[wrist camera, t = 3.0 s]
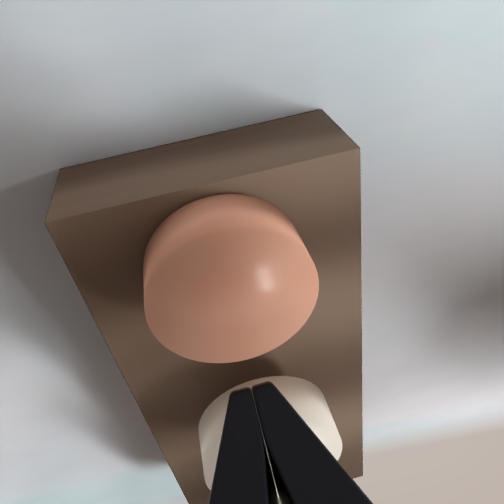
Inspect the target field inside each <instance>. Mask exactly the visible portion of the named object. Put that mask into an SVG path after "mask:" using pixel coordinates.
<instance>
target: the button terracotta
mask: <svg viewBox="0 0 504 504" xmlns="http://www.w3.org/2000/svg"><path fill="white" fill-rule="evenodd" d="M143 283H144V311H145V317H146V321H147V324H148V326H149V328H150V330H151V332H152V334H153V335H154V336H155V337H156V339H157V340H158V341H159V342H160V343H161V344H162V345H163V346H165V347H166V348H167V349H169V350H170V351H172V352H174V353H176V354H177V355H179V356H182V357H185V358H187V359H191V360H194V361H199V362H206V363H231V362H238V361H243V360H247V359H251V358H254V357H257V356H260V355H262V354H265V353H267V352H269V351H271V350H273V349H275V348H277V347H278V346H280V345H281V344H283V343H285V342H286V341H287V340H288V339H290V338H291V337H292V336H293V335H294V334H296V333H297V332H298V331H299V330H300V329H301V327H302V326H303V325H304V324H305V323H306V321H307V320H308V318H309V317H310V315H311V313H312V311H313V309H314V307H315V304H316V301H317V298H318V292H319V278H318V272H317V270H316V267H315V264H314V262H313V260H312V258H311V257H310V255H309V253H308V251H307V249H306V247H305V245H304V243H303V241H302V239H301V238H300V236H299V234H298V232H297V230H296V228H295V226H294V225H293V223H292V221H291V220H290V219H289V218H288V216H287V215H286V214H285V213H283V212H282V211H281V210H280V209H279V208H277V207H276V206H274V205H273V204H271V203H269V202H267V201H265V200H262V199H259V198H256V197H253V196H247V195H241V194H222V195H215V196H209V197H205V198H202V199H199V200H196V201H194V202H191V203H189V204H187V205H185V206H183V207H181V208H180V209H178V210H176V211H175V212H174V213H172V214H171V215H170V216H168V217H167V218H166V219H165V220H164V221H163V222H162V223H161V224H160V225H159V227H158V228H157V229H156V230H155V232H154V233H153V235H152V237H151V238H150V240H149V242H148V245H147V247H146V250H145V254H144V259H143Z"/></svg>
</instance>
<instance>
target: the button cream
mask: <svg viewBox="0 0 504 504" xmlns="http://www.w3.org/2000/svg"><path fill="white" fill-rule="evenodd" d="M267 381H270V382H272V383H273V384H274V385H275V386H276V387H277V389H278V390H279V391H280V392H281V393H282V395H283V396H284V397H285V398H286V399H287V401H288V402H289V403H290V404H291V405H292V407H293V408H294V409H295V410H296V412H297V413H298V414H299V415H300V416H301V418H302V419H303V420H304V421H305V422H306V424H307V425H308V426H309V427H310V428H311V430H312V431H313V432H314V433H315V434H316V436H317V437H318V438H319V439H320V440H321V442H322V443H323V444H324V445H325V446H326V448H327V449H328V450H329V451H330V452H331V454H332V455H333V456H334V457H335V459H336V460H337V461H338V460H339V457H340V455H341V452H342V440H341V437H340V435H339V432H338V430H337V427H336V425H335V422H334V420H333V417H332V415H331V412H330V410H329V407H328V405H327V402H326V400H325V397H324V395H323V393H322V392H321V390H320V389H319V388H318V387H317V386H316V385H314V384H313V383H311V382H309V381H307V380H304V379H301V378H297V377H291V376H270V377H263V378H259V379H254V380H251V381H248V382H245V383H242V384H240V385H237V386H235V387H233V388H231V389H229V390H228V391H226V392H225V393H223V394H221V395H220V396H219V397H218V398H216V399H215V400H214V401H213V402H212V403H211V404H210V405H209V406H208V407H207V408H206V410H205V411H204V413H203V415H202V416H201V419H200V421H199V427H198V430H199V439H200V447H201V455H202V463H203V471H204V479H205V482H206V485H207V487H208V488H209V489H210V490H211V487H212V482H213V477H214V472H215V467H216V461H217V456H218V451H219V446H220V441H221V436H222V431H223V425H224V420H225V415H226V410H227V405H228V400H229V395H230V393H231V392H232V391H234V390H237V389H241V388H245V387H250V388H252V386H253V385H256V384H259V383H263V382H267ZM251 391H252V389H251ZM252 395H253V394H252ZM253 399H254V398H253ZM258 418H259V417H258ZM259 422H260V421H259ZM260 426H261V425H260ZM261 430H262V429H261ZM262 434H263V433H262ZM263 438H264V437H263ZM264 442H265V441H264ZM265 446H266V445H265ZM266 450H267V449H266ZM267 454H268V453H267ZM268 458H269V457H268ZM269 462H270V461H269ZM270 466H271V465H270ZM271 470H272V469H271ZM272 474H273V473H272ZM273 478H274V477H273ZM274 482H275V481H274ZM275 486H276V485H275ZM276 491H277V488H276ZM277 496H278V498H279V495H278V492H277Z"/></svg>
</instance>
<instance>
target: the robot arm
mask: <svg viewBox="0 0 504 504" xmlns="http://www.w3.org/2000/svg"><path fill="white" fill-rule="evenodd" d="M251 389H252V391H251ZM252 394H253V395H252ZM253 398H254V399H253ZM258 417H259V418H258ZM259 421H260V422H259ZM260 425H261V426H260ZM261 429H262V430H261ZM262 433H263V434H262ZM263 437H264V438H263ZM264 441H265V442H264ZM265 445H266V446H265ZM266 449H267V450H266ZM267 453H268V454H267ZM268 457H269V458H268ZM269 461H270V462H269ZM270 465H271V466H270ZM271 469H272V470H271ZM272 473H273V474H272ZM273 477H274V478H273ZM274 481H275V482H274ZM275 485H276V486H275ZM276 488H277V491H276ZM277 492H278V495H279V498H280V501H281V504H373V503H372V502H371V501H370V500H369V498H368V497H367V496H366V495H365V493H363V491H362V490H361V489H360V487H359V486H358V485H357V484H356V483H355V481H354V480H353V479H352V478H351V477H350V475H349V474H348V473H347V472H346V471H345V469H344V468H343V467H342V466H341V465H340V463H339V462H338V461H337V460H336V459H335V457H334V456H333V455H332V454H331V452H330V451H329V450H328V449H327V448H326V446H325V445H324V444H323V443H322V442H321V440H320V439H319V438H318V437H317V436H316V434H315V433H314V432H313V431H312V430H311V428H310V427H309V426H308V425H307V424H306V422H305V421H304V420H303V419H302V418H301V416H300V415H299V414H298V413H297V412H296V410H295V409H294V408H293V407H292V405H291V404H290V403H289V402H288V401H287V399H286V398H285V397H284V396H283V395H282V393H281V392H280V391H279V390H278V389H277V387H276V386H275V385H274V384H273V383H272V382H270V381H267V382H263V383H259V384H256V385H253V386H252V388H250V387H245V388H241V389H237V390H234V391H232V392H231V393H230V395H229V400H228V405H227V410H226V415H225V420H224V425H223V431H222V436H221V441H220V446H219V451H218V456H217V461H216V467H215V472H214V477H213V482H212V487H211V492H210V497H209V503H208V504H279V502H278V496H277Z"/></svg>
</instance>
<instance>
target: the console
mask: <svg viewBox="0 0 504 504" xmlns="http://www.w3.org/2000/svg"><path fill="white" fill-rule="evenodd" d="M222 194H241V195H247V196H253V197H256V198H259V199H262V200H265V201H267V202H269V203H271V204H273V205H274V206H276V207H277V208H279V209H280V210H281V211H282V212H283V213H285V214H286V215H287V216H288V218H289V219H290V220H291V221H292V223H293V225H294V226H295V228H296V230H297V232H298V234H299V236H300V238H301V239H302V241H303V243H304V245H305V247H306V249H307V251H308V253H309V255H310V257H311V258H312V260H313V262H314V264H315V267H316V270H317V272H318V278H319V292H318V298H317V301H316V304H315V307H314V309H313V311H312V313H311V315H310V317H309V318H308V320H307V321H306V323H305V324H304V325H303V326H302V327H301V329H300V330H299V331H298V332H297V333H296V334H294V335H293V336H292V337H291V338H290V339H288V340H287V341H286V342H285V343H283V344H281V345H280V346H278V347H277V348H275V349H273V350H271V351H269V352H267V353H265V354H262V355H260V356H257V357H254V358H251V359H247V360H243V361H238V362H231V363H206V362H199V361H194V360H191V359H187V358H185V357H182V356H179V355H177V354H176V353H174V352H172V351H170V350H169V349H167V348H166V347H165V346H163V345H162V344H161V343H160V342H159V341H158V340H157V339H156V337H155V336H154V335H153V334H152V332H151V330H150V328H149V326H148V324H147V321H146V317H145V311H144V283H143V259H144V254H145V250H146V247H147V245H148V242H149V240H150V238H151V237H152V235H153V233H154V232H155V230H156V229H157V228H158V227H159V225H160V224H161V223H162V222H163V221H164V220H165V219H166V218H167V217H168V216H170V215H171V214H172V213H174V212H175V211H176V210H178V209H180V208H181V207H183V206H185V205H187V204H189V203H191V202H194V201H196V200H199V199H202V198H205V197H209V196H215V195H222ZM45 225H46V227H47V229H48V231H49V233H50V234H51V236H52V238H53V240H54V242H55V244H56V246H57V248H58V250H59V252H60V254H61V256H62V258H63V260H64V262H65V264H66V266H67V268H68V269H69V271H70V273H71V275H72V277H73V279H74V281H75V283H76V285H77V287H78V289H79V291H80V293H81V295H82V297H83V299H84V301H85V303H86V305H87V306H88V308H89V310H90V312H91V314H92V316H93V318H94V320H95V322H96V324H97V326H98V328H99V330H100V332H101V334H102V336H103V338H104V340H105V342H106V343H107V345H108V347H109V349H110V351H111V353H112V355H113V357H114V359H115V361H116V363H117V365H118V367H119V369H120V371H121V373H122V375H123V377H124V379H125V380H126V382H127V384H128V386H129V388H130V390H131V392H132V394H133V396H134V398H135V400H136V402H137V404H138V406H139V408H140V410H141V412H142V414H143V416H144V417H145V419H146V421H147V423H148V425H149V427H150V429H151V431H152V433H153V435H154V437H155V439H156V441H157V443H158V445H159V447H160V449H161V451H162V452H163V454H164V456H165V458H166V460H167V462H168V464H169V466H170V468H171V470H172V472H173V474H174V476H175V478H176V480H177V482H178V484H179V486H180V488H181V489H182V491H183V493H184V495H185V497H186V499H187V501H188V503H189V504H208V503H209V497H210V492H211V490H210V489H209V488H208V487H207V485H206V482H205V479H204V471H203V463H202V455H201V447H200V439H199V430H198V427H199V421H200V419H201V416H202V415H203V413H204V411H205V410H206V408H207V407H208V406H209V405H210V404H211V403H212V402H213V401H214V400H215V399H216V398H218V397H219V396H220V395H221V394H223V393H225V392H226V391H228V390H229V389H231V388H233V387H235V386H237V385H240V384H242V383H245V382H248V381H251V380H254V379H259V378H263V377H270V376H291V377H297V378H301V379H304V380H307V381H309V382H311V383H313V384H314V385H316V386H317V387H318V388H319V389H320V390H321V392H322V393H323V395H324V397H325V400H326V402H327V405H328V407H329V410H330V412H331V415H332V417H333V420H334V422H335V425H336V427H337V430H338V432H339V435H340V437H341V440H342V452H341V455H340V457H339V460H338V462H339V463H340V465H341V466H342V467H343V468H344V469H345V471H346V472H347V473H348V474H349V475H350V477H351V478H352V479H353V478H356V477H360V476H363V462H362V461H363V450H362V323H361V197H360V147H359V146H358V145H357V144H356V143H355V142H354V141H353V140H352V139H351V138H350V137H349V136H348V135H347V134H346V133H345V132H344V131H343V130H342V129H341V128H340V127H339V126H338V125H337V124H336V123H335V122H334V121H333V120H332V119H331V118H330V117H329V116H328V115H327V114H326V113H325V112H324V111H323V110H322V109H321V110H316V111H312V112H307V113H303V114H299V115H294V116H290V117H286V118H281V119H277V120H273V121H268V122H264V123H259V124H255V125H251V126H246V127H242V128H238V129H233V130H229V131H224V132H220V133H216V134H211V135H207V136H203V137H198V138H194V139H189V140H185V141H181V142H176V143H172V144H168V145H163V146H159V147H154V148H150V149H146V150H141V151H137V152H133V153H128V154H124V155H120V156H115V157H111V158H106V159H102V160H98V161H93V162H89V163H85V164H80V165H76V166H71V167H67V168H63V169H60V172H59V175H58V178H57V182H56V185H55V189H54V192H53V195H52V199H51V202H50V206H49V209H48V212H47V216H46V219H45Z"/></svg>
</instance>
